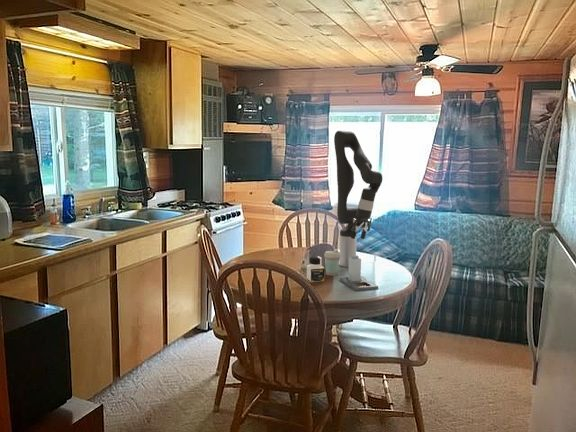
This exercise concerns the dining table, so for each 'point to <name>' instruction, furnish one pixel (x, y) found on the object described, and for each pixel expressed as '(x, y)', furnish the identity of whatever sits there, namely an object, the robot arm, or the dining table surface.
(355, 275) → the plug
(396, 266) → the dining table surface
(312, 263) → the medicine bottle
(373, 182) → the robot arm
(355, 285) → the panel
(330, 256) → the coffee cup
